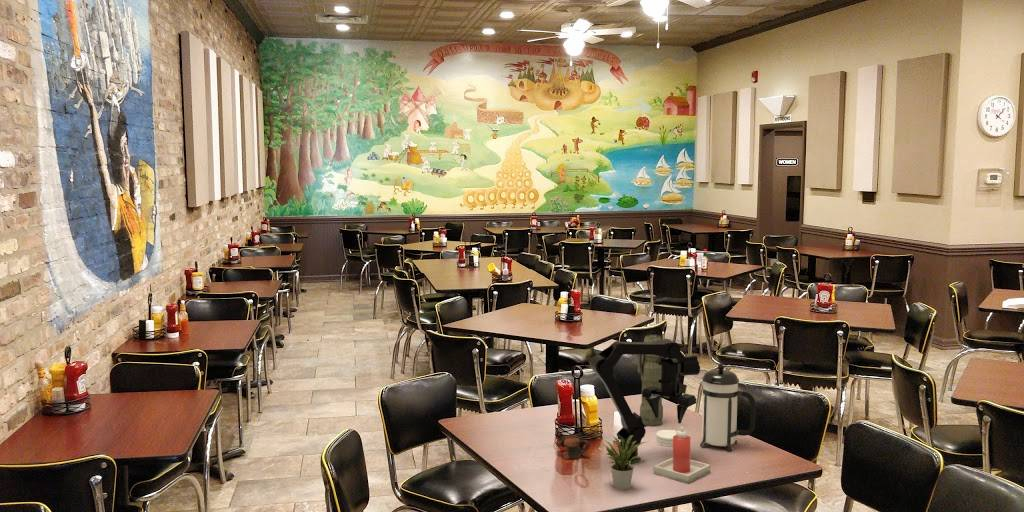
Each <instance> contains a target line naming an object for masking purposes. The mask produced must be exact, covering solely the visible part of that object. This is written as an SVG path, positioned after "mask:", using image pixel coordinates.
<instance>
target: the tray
mask: <svg viewBox="0 0 1024 512" xmlns="http://www.w3.org/2000/svg"><path fill="white" fill-rule="evenodd" d="M652 470H653V472H652V474H654V475H657V476H660V477H664V478H667V479H670V478H671V480H674V481H678V482H681V483H684V484H687V483H688V484H690V483H692V482H693V481H696V480H699V479H700V478H701V477H705V475H707V474H710V473H711V464H708V463H704V462H701V461H698V460H695V459H690V471H689V472H687V473H679V472H675V471H674V470H673V457H671V458H669V459H666V460H664V461H662V462H660V463H659V462H658V463H657V464H655V465H654V466H653V468H652Z"/></svg>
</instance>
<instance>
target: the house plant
mask: <svg viewBox="0 0 1024 512" xmlns="http://www.w3.org/2000/svg"><path fill="white" fill-rule="evenodd" d="M632 436H633V435H632ZM632 436H630V437H629V438H628V440H627V442H626V444H625V450H624V444H623V440H622V438H621V440H622V446H621V443H620V442H621V441H620V440H619V439H618V437H617V436H614V435H612V437H613V439H614V440H615V442H616V444H617V448H618V452H619V453H620V457H621V459H620V457H619V453H618V452H617V451H616V449H615V447H614V445H612V444H611V443H610V442H609V441H607V440H604V442H605V443H607V444H608V445H609V446H608V445H606V444H605V443H603V446H604V447H605V449H606V451H607V453H606V455H607V458H609V459H611V460H613V461H610V462H609V465H610V464H612V465H610V470H611V476H612V478H611V479H612V483H613V487H614V489H617V490H627V489H628V490H629V489H630V488H631V485H632V484H631V483H632V479H633V474H634V468H635V467H634V466H633V465H631V464H630V463H632V462H634V463H637V462H641V460H639V461H638V460H633V459H635V458H641V457H640V456H634V457H632V458H631V459H630V461H628V459H629V457H630V455H631V454H632V453H633V452H634V451H635V450H636V449H637V447H638V448H639V446H640V445H642V444H645V443H646V444H647V443H648V441H641V443H639V444H637V445H635V446H634V444H635V442H636V441H635V442H632V445H631V447H630V450H629V451H628V452H627V449H628V448H629V447H628V445H629V443H630V441H631V438H632ZM629 446H630V445H629ZM633 446H634V447H633ZM632 447H633V448H634V449H633V448H632ZM632 449H633V450H632ZM631 450H632V452H631ZM636 461H637V462H636ZM632 464H633V463H632Z"/></svg>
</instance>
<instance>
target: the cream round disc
mask: <svg viewBox="0 0 1024 512" xmlns="http://www.w3.org/2000/svg"><path fill="white" fill-rule="evenodd" d="M676 431H677V430H673V429H672V430H671V429H662V430H658V431H657V432H656V433H655V442H656V443H657V444H658V445H659V446H662V447H663V446H664V447H668V448H671V447H672V448H673V436H675V435H676Z"/></svg>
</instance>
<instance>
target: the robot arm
mask: <svg viewBox="0 0 1024 512" xmlns="http://www.w3.org/2000/svg"><path fill="white" fill-rule="evenodd" d="M638 354H642V355H643V354H646V355H658V356H661V357H659V358H658V359H657V360H656V361H655V363H657V364H658V365H661V379H659V381H658V382H659V383H661V386H660V389H659V388H656V387H652V386H650V387H647V388H644V389H643V391H642V390H641V398H642V397H645V400H647V401H648V403H649V405H650V407H651V409H652V411H653V413H654V415H655V417H656V418H658V415H659V400H660V397H662V399H667V400H671V401H672V400H673V401H677V405H676V415H677V422H678V424H679V425H680V424H681V423H682V421H683V419H684V416H685V414H686V412H687V410H688V408H690V407H692V406H693V405H696V404H697V398H696V396H695V395H694V394H689V393H686V392H687V386H688V385H687V384H684V383H681V380H680V378H678V373H679V374H680V376H682V377H683V376H698V375H699V374H700V372H701V366H700V362H699V360H698V355H695V354H693V355H692V354H691V355H684V354H683V353H682V351H681V347H680V344H679V343H677V342H675V341H674V340H672V339H670V338H669V339H668V338H663V339H662V340H658V341H655V342H644V341H638V342H637V341H618V340H617V341H616V340H615V341H614V342H612V343H611V344H610V345H609V346H608V347H606V348H605V349H604V348H603V350H602V351H600V352H599V353H598V354H596V355H594V356H593V357H591V359H590V361H589V366H590V368H591V370H592V371H593V373H594V374H595V375H596V376H597V377H598V378H599V380H600V381H601V382H602V383H603V385H604V387H605V390H606V391H607V393H608V394H609V397H610V398H611V400H612V403H613V404H614V406H615V408H616V410H617V412H618V414H619V417H620V423H621V426H622V427H621V428H620V429H619V430H618V432H617V433H616V438H617V439H618V440H619V441H620V443H621V446H622V440H623V444H624V450H625V444H626V442H627V440H628V438H629V437H630V436H632V435H633V436H632V438H631V441H630V443H629V445H630V446H629V445H628V447H629V448H628V449H627V452H628V451H629V450H630V447H631V445H632V442H635V441H636V442H635V444H634V446H635V445H637V444H639V443H641V442H642V440H643V438H644V437H645V435H646V427H647V426H645V425H644V424H643V422H642V419H641V417H640V414H637V412H635V411H634V412H632V409H631V408H630V406H629V404H628V402H627V400H626V398H625V395H624V393H623V392H622V390H621V388H620V386H619V384H618V382H617V381H616V376H615V370H614V367H615V366H616V365H617V363H619V361H620V359H621V357H622V356H623V355H638ZM663 357H665V358H667V359H663ZM681 393H682V395H681ZM621 438H622V440H621ZM634 446H633V447H634ZM633 447H632V448H633ZM633 449H634V448H633ZM633 449H632V450H633ZM638 449H639V446H638V447H637V449H636V450H635V451H634V452H633V453H632V454H631V455H630V457H629V459H628V461H630V459H631V458H632V457H634V456H638V455H639V454H638V451H639V450H638ZM632 450H631V452H632ZM618 454H619V457H620V453H618ZM620 459H621V457H620ZM633 460H638V461H636V462H632V463H630V464H629V465H631V464H632V465H633V464H634V463H637V462H639V461H641V460H642V458H641V457H640V458H635V459H633Z"/></svg>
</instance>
